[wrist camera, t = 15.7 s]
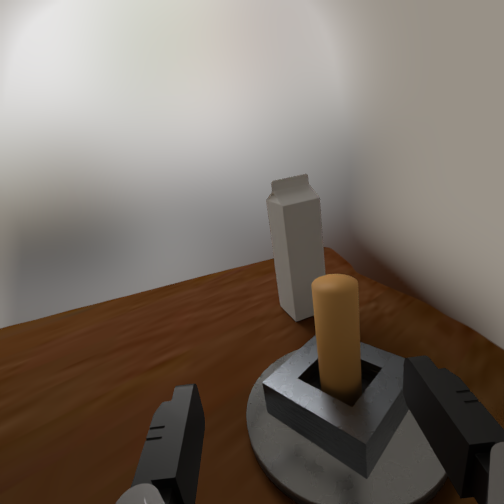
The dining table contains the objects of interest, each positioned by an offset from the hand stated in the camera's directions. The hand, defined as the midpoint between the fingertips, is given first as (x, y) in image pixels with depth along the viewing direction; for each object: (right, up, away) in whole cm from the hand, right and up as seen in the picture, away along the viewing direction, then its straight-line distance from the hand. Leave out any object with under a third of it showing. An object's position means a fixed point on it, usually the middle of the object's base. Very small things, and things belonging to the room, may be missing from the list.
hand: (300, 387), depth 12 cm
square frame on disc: (+8, -12, +22) cm, 26 cm away
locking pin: (+7, -10, +21) cm, 25 cm away
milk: (+7, -4, +42) cm, 43 cm away
